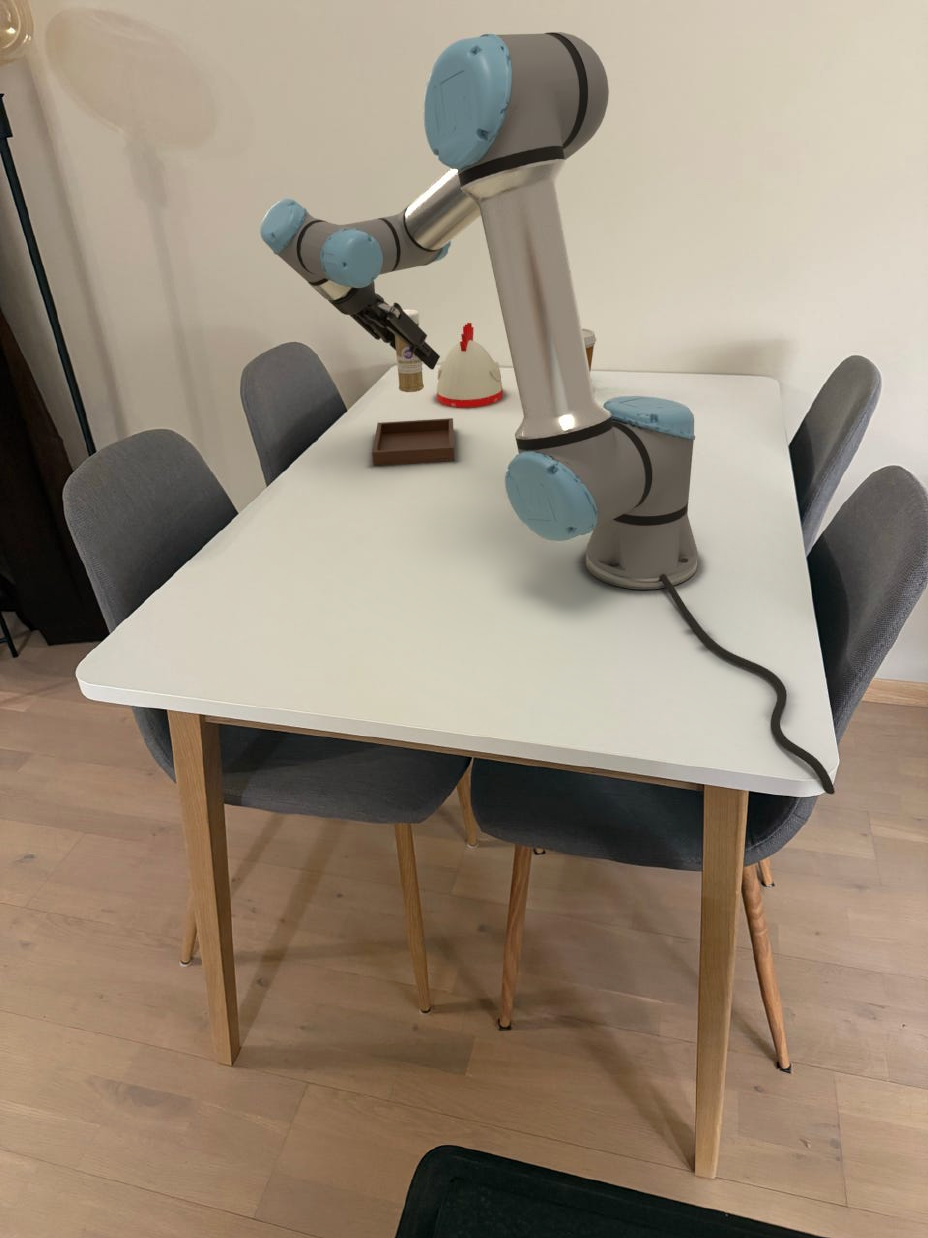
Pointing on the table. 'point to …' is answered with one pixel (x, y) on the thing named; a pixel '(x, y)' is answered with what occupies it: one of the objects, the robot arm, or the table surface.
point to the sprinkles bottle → (408, 362)
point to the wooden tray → (414, 442)
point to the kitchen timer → (469, 375)
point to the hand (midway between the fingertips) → (425, 360)
